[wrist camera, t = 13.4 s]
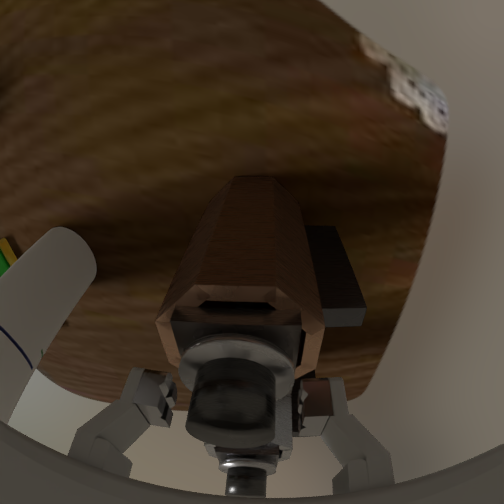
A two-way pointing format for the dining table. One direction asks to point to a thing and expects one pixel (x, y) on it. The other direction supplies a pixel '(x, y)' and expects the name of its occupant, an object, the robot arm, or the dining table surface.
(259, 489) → the steel press plunger
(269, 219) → the copper press carafe
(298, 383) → the steel press carafe
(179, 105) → the dining table surface
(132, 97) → the dining table surface
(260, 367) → the copper press plunger
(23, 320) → the cylindrical container
